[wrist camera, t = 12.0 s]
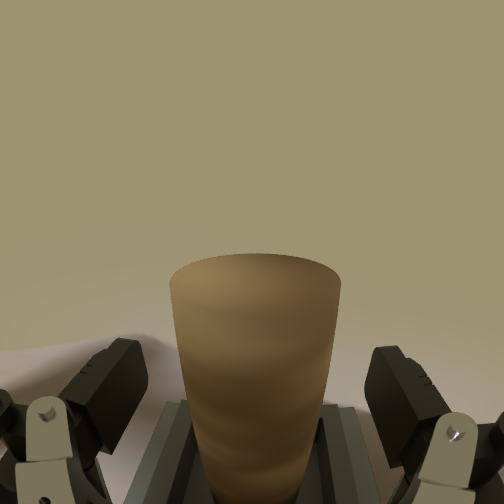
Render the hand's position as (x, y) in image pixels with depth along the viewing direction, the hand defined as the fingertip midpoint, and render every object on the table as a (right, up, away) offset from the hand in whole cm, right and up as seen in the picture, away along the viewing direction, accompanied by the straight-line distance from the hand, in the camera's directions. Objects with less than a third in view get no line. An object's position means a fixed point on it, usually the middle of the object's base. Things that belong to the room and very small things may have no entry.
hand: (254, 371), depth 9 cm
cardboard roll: (0, -8, +2) cm, 9 cm away
